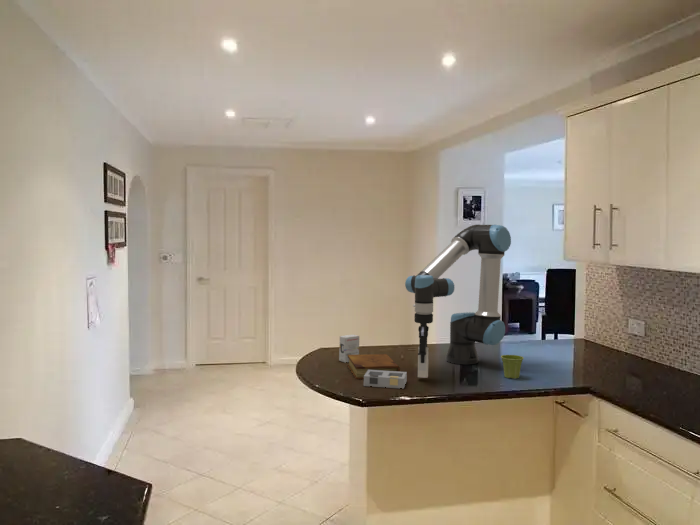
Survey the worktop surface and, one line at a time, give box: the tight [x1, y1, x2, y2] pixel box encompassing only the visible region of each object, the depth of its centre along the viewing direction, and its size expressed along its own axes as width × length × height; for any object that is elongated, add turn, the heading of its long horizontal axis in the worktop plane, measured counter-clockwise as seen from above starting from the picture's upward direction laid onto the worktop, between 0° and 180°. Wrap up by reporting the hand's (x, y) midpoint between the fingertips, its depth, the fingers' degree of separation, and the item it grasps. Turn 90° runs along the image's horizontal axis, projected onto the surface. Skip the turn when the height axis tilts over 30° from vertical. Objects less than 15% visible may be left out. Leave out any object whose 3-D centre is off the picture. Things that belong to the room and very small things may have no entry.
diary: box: [347, 353, 401, 380], centre depth 263 cm, size 23×19×6 cm
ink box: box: [338, 334, 360, 364], centre depth 283 cm, size 9×5×12 cm, turn 129°
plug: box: [417, 346, 429, 379], centre depth 250 cm, size 4×4×13 cm
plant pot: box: [500, 354, 525, 380], centre depth 258 cm, size 9×9×9 cm
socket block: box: [363, 370, 408, 390], centre depth 243 cm, size 16×11×4 cm
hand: (423, 368), depth 250 cm, fingers closed on plug, 4 cm apart
